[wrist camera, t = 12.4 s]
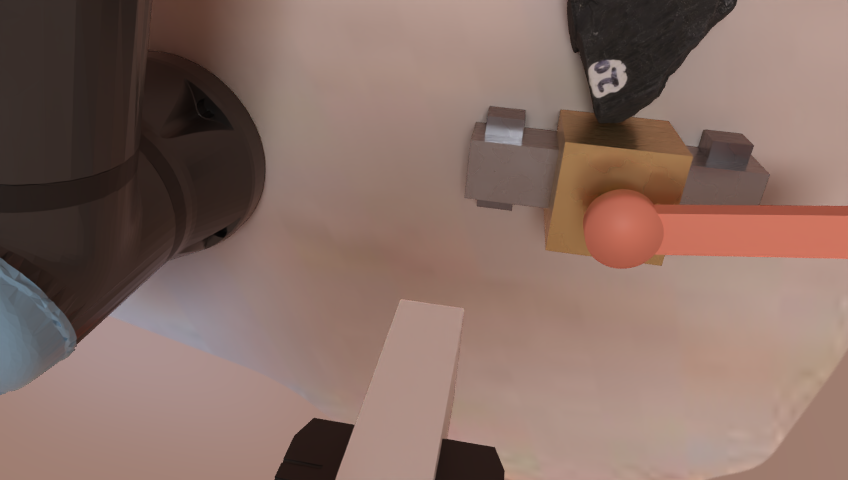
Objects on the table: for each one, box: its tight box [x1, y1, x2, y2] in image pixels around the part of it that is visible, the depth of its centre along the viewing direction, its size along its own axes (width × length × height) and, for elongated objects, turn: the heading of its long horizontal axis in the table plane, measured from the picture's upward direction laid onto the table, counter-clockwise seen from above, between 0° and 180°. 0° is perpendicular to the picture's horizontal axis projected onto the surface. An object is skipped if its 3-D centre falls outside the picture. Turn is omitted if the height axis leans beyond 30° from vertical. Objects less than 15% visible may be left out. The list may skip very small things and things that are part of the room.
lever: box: [583, 189, 848, 269], centre depth 32 cm, size 14×4×2 cm, turn 93°
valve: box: [465, 106, 770, 266], centre depth 38 cm, size 18×7×9 cm, turn 86°
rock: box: [567, 0, 737, 124], centre depth 35 cm, size 9×10×6 cm
